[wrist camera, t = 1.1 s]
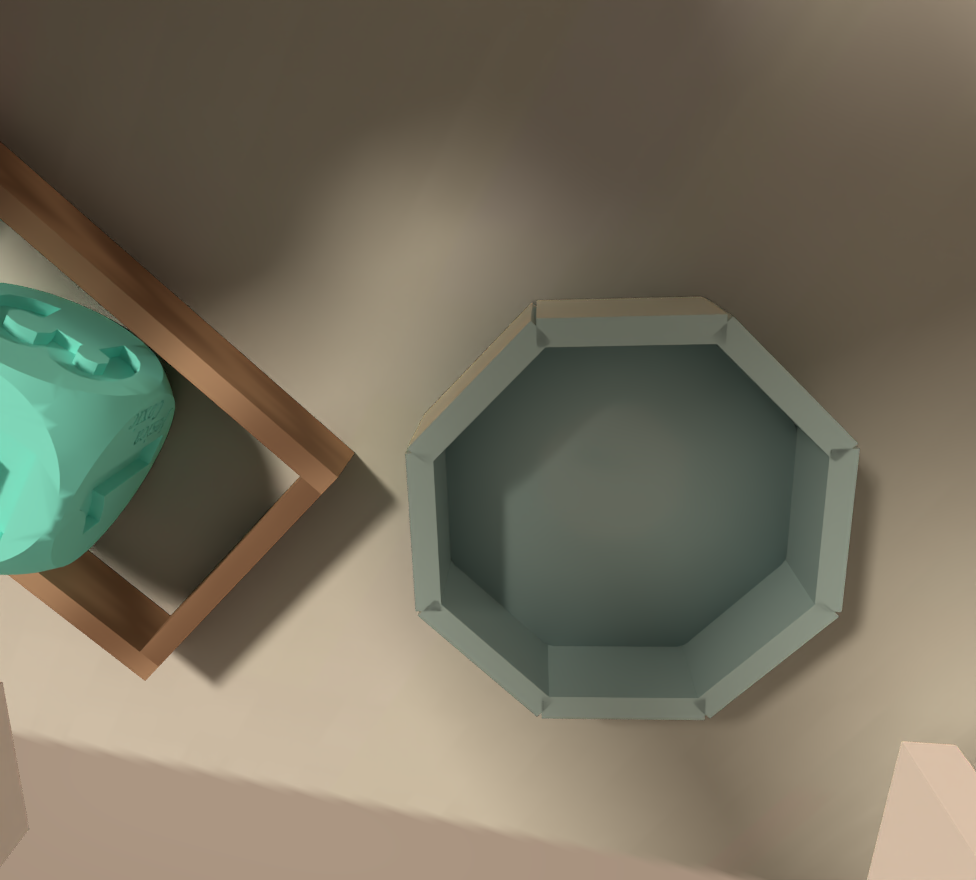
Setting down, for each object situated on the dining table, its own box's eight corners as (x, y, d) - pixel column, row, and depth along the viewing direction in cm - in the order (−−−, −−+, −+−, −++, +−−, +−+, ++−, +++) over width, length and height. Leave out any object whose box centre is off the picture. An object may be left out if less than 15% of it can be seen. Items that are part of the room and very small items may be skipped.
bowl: (349, 491, 35) (323, 535, 31) (620, 210, 31) (633, 214, 26) (611, 718, 37) (621, 788, 33) (893, 487, 33) (945, 532, 29)
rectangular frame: (-200, 348, 34) (-266, 362, 32) (-42, 105, 31) (-101, 97, 28) (174, 643, 38) (145, 680, 35) (354, 453, 34) (337, 477, 31)
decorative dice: (127, 520, 36) (17, 610, 28) (-40, 429, 35) (-200, 497, 28) (201, 368, 34) (103, 423, 26) (23, 268, 33) (-132, 294, 25)
